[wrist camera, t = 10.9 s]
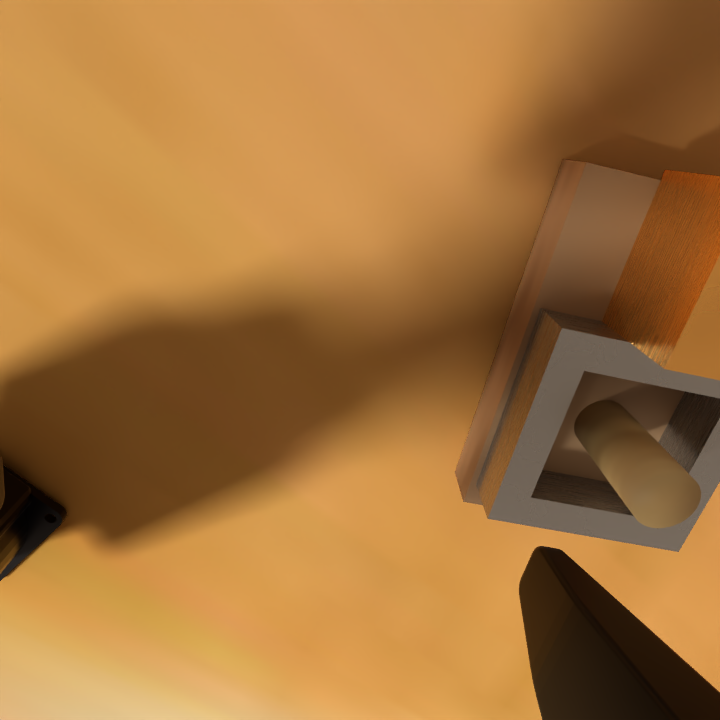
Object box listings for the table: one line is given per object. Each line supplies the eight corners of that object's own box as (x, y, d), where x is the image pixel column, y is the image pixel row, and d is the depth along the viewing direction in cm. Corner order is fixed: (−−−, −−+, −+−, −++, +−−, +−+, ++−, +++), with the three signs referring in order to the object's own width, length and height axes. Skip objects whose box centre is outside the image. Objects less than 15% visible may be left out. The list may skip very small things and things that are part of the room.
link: (650, 515, 21) (711, 595, 18) (476, 484, 21) (501, 560, 17) (817, 206, 17) (948, 227, 13) (597, 153, 16) (669, 159, 12)
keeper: (626, 503, 24) (718, 628, 18) (455, 472, 23) (489, 591, 17) (776, 210, 19) (975, 247, 13) (562, 159, 18) (665, 171, 12)
